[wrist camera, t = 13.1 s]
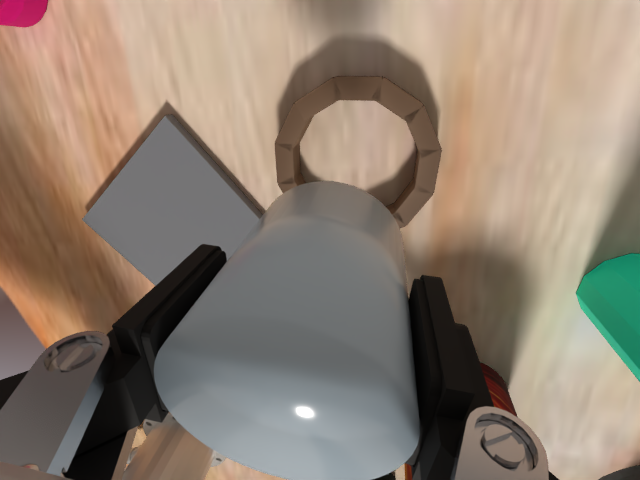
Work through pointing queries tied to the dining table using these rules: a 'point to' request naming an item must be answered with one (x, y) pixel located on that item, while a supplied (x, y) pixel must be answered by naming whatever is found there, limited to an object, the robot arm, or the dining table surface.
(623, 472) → the tankard
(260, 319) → the jug
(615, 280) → the candle
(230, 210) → the tile
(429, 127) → the stand
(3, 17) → the pepper mill
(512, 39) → the dining table surface
